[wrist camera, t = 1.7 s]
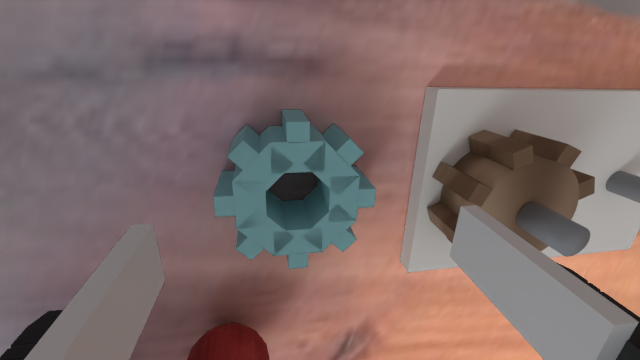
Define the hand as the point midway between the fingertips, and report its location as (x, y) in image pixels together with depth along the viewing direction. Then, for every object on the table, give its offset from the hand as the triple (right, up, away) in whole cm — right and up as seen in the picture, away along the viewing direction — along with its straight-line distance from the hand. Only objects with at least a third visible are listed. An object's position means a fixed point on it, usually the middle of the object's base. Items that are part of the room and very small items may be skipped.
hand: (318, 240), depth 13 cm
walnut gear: (+12, +2, +9) cm, 15 cm away
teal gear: (-2, +3, +8) cm, 8 cm away
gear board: (+18, +3, +11) cm, 21 cm away
